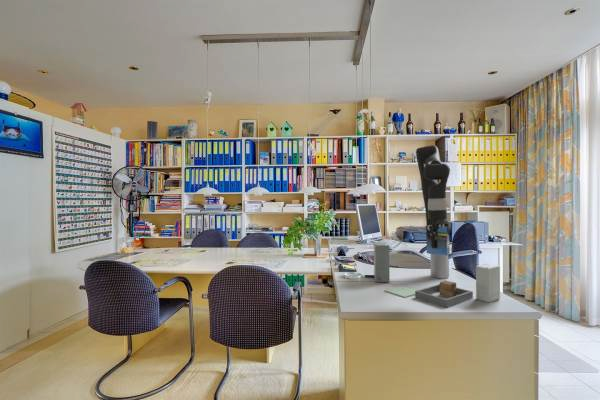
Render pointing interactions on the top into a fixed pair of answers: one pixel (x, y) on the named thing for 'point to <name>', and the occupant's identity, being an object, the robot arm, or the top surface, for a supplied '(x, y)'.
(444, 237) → the label tape box
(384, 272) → the hard drive box
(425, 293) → the parts bin
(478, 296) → the skincare box
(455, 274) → the top surface
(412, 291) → the mat
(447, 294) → the walnut block
